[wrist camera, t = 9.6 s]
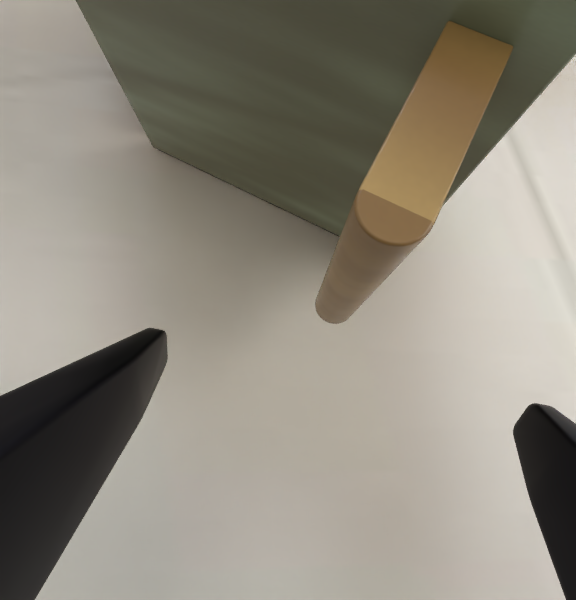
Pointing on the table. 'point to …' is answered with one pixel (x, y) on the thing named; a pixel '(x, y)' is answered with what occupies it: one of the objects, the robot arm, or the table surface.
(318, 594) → the table surface
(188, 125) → the door
